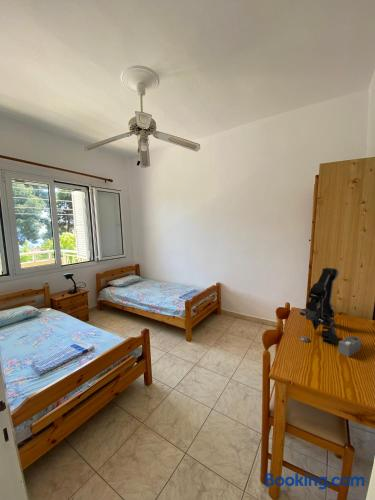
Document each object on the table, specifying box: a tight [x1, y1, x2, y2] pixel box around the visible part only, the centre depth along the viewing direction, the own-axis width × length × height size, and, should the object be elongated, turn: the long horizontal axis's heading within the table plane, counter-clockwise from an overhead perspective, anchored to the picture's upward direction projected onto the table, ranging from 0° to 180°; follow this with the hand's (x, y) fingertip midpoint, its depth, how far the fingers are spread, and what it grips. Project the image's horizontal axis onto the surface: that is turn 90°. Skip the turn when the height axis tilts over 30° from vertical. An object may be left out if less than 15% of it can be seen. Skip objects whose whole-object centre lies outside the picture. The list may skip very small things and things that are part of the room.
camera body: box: [337, 335, 362, 358], centre depth 114 cm, size 13×6×7 cm, turn 118°
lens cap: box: [299, 335, 311, 343], centre depth 125 cm, size 5×5×1 cm
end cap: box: [321, 325, 339, 345], centre depth 124 cm, size 10×7×7 cm
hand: (315, 329), depth 130 cm, fingers closed
